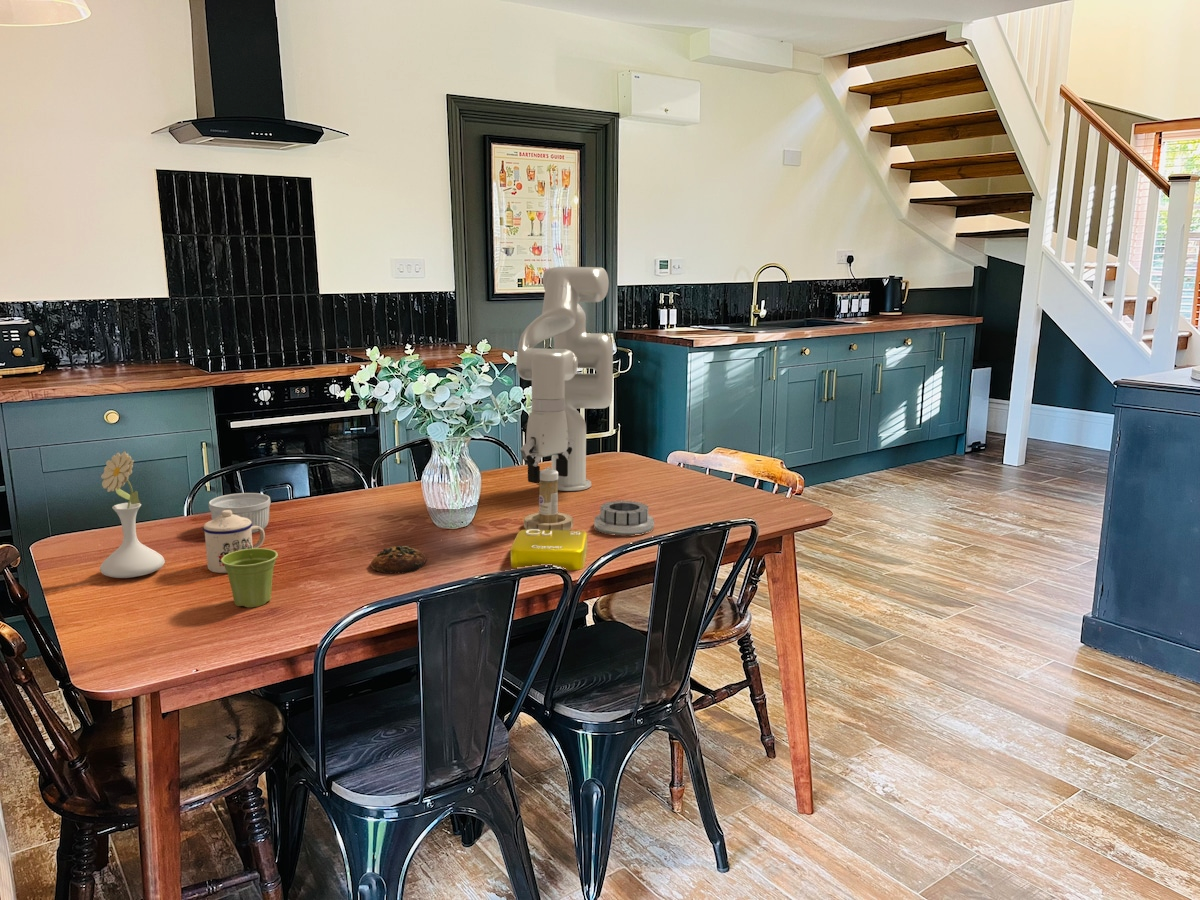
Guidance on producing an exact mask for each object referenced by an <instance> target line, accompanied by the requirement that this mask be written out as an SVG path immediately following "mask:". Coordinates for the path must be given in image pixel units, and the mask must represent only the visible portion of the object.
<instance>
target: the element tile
mask: <svg viewBox="0 0 1200 900" xmlns="http://www.w3.org/2000/svg"><path fill="white" fill-rule="evenodd" d="M510 546H511V547H510V567H511V568H513V569H516V568H517V567H525V566H532V565H541V564H552V565H558V566H561V567H564V568H566V569H567V570H566V571H579V570H582V569H583V568H584V567H585V561H586V557H587V554H586V553H588V533H587V532H586V531H585V530H568V531H567V530H538V529H530V530H526V529H521V530H520V531H518V532H517V534H516V536H515V538H514V541H513V543H512V545H510Z"/></svg>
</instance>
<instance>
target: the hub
mask: <svg viewBox="0 0 1200 900" xmlns="http://www.w3.org/2000/svg"><path fill="white" fill-rule="evenodd" d="M593 525H594V526H593V527H595V528H594V529H596V530H595V531H597V532H598V531H599V532H598V533H600V532H603V533H606V534H605V535H607V534H615V535H635V534H642V533H646V532H649V531H651V530H652V529H653V528H654V529H655V518H654V517H653V516H652V515H649V506H648V505H646V504H645V503H642V502H638V501H631V500H615V501H608V502H605V503H602V504H601V506H600V513H599V514H598V515H596V516H595V517H594V524H593ZM654 529H653V530H654ZM603 533H602V534H603Z"/></svg>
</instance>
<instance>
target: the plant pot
mask: <svg viewBox="0 0 1200 900" xmlns="http://www.w3.org/2000/svg"><path fill="white" fill-rule="evenodd" d="M278 557H279V555H278V552H277V551H276V550H275V549H271V548H261V547H259V548H253V549H244V550H239V551H235V552H231V553H229V554H227V555H225V556H223V557H222V559H221V562H222V563H223V564H224V565H225V569H226V571H227V572H228V573H227V575H228V581H229V585H230V588H231V589H230V590H231V592H232V596H233V597H232V598H233V602H234V604H235V606H237V607H246V608H256V607H261V606H264V605H266V603H267V602H271V599H272V590H273V589H272V588H273V587H272V586H273V585H272V584H273V575H274V567H275V564H276V559H277V558H278Z"/></svg>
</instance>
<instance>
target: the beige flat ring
mask: <svg viewBox="0 0 1200 900" xmlns="http://www.w3.org/2000/svg"><path fill="white" fill-rule="evenodd" d="M573 527H574V518H573V516H571V515H570V514H568V513H563V512H558V513H557V523H539V512H535V513H530V514H527V515H526V516H525V517H524V518H523V528H524V530H530V529H538V530H567V531H571V530H572V528H573Z"/></svg>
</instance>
